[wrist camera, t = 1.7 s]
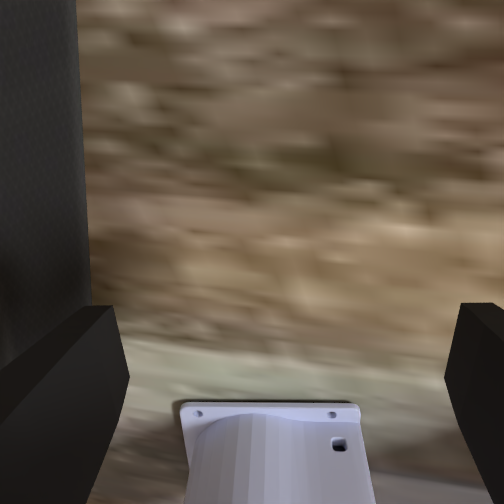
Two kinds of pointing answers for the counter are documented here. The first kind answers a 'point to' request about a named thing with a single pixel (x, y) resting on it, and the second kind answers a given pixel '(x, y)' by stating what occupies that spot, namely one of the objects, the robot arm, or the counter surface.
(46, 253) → the barrier
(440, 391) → the counter surface
